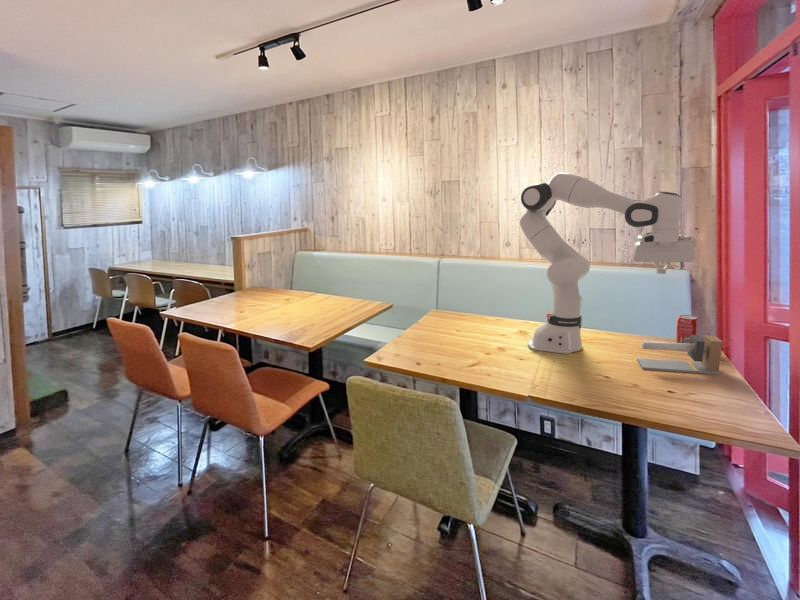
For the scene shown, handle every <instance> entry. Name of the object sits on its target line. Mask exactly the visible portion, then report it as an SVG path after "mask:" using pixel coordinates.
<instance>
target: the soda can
mask: <svg viewBox="0 0 800 600" xmlns="http://www.w3.org/2000/svg"><path fill="white" fill-rule="evenodd" d="M698 325H699V321H698V317H697V316H695V315H691V314H690V315H689V314H681V315H678V318H677V322H676V332H675V342H674V343H689V339H690V335H698V334H697V333H698V332H697V331H698Z"/></svg>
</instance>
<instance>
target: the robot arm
mask: <svg viewBox="0 0 800 600" xmlns="http://www.w3.org/2000/svg"><path fill="white" fill-rule="evenodd" d="M520 201H521V204H522V206H523V207H524V208H525V209H526V210H527V211H526V213H523V215H522V216H521V218H520V220H519V225H520V227H521V231H522V232H523V234H524V236H525V237H526V239H527V240H528V241H529V243H530V244H531V246H532V247H533V248H534V249H535V251H536V252H537V254H539V255H540V257H542V258H543V259H545V260H546V261H548V262H549V263H551V264H550V265H549V267H548V268H547V272H546V276H547V279H548V281H549V283H550V285H551V290H552V297H553V300H552V301H553V304H552V305H553V307H552V313H551V312H547V313H546V318H547V322H545V323H544V324H543V325H541V326H539V327H538V328H536V329H535V331H534V334H533V337H531V338H529V340H528V342H527V346H528V348H530V350H534V351H540V352H547V353H548V352H550V353H556V354H557V353H558V354H566V355H568V354H571V353H573V352H574V353H575V352H579V351H581V350H583V347H584V346H583V343H582V335H581V329H582V324H583V317H582V315H581V314H582V313H581V312H582V296H581V294H580V291H579V281H581V280H582V279H584V278H585V277H586V276H587V275H588V273H589V272H590V268H591V265H590V262H589V259H587V258H586V257H585V256H583V255H581V254H580V253H579V252H577V251H576V250H575V249H574V248H573V247H572V246H571V245H569V244H568V243H567V242H566V241H565V240H564V239H563V238H562V236H561V235H560V234H559V233H558V232H557V230H556V229H555V227H553V225H552V224H551V223H550V222H549V220H548V218H547V217H548V215H549V214H550V212H551V211H552V210H553V209H554V208H555V206H556V203H557V201H561V202H564V203H567V204H570V205H573V206H575V207H579V208H585V209H590V208H591V209H592V208H601V209H602V208H603V209H608V210H611V211H613V212H616V213H620V214H622V215H624V220H625V222H626V224H628V225H629V226H631V227H633V228H644V227H648V226H651V231H648V232H646V233H641V234H639V235H638V236H637V242H635V244H634V247H633V250H632V256H631V257H632V258H631V259H632V260H633V262H635V263H638V262H639V263H644V262H645V263H649V262H650V263H651V262H653V265H654V267H655V268H656V271H655V272H656V274H659V275H661V274H664V275H665V274H667V270H668V269H669V268H670V266H671V263H692V262H693V261H695V257H696V256H695V255H696V252H695V251H696V250H695V248H696V247H697V239H696V238H695V237H693V236H680V228H681V227H680V220H681V217H682V211H683V210H682V209H683V206H682V201H683V200H682V196H681V195H679V193H675V192H669V191H658V192H657V193H655V194H653V195H652V196H650V197H648V198H645V199H641V200H640V199H639V200H638V199H637V200H636V199H632V198H629V197H626V196H623V195H620V194H617V193H614V192H611V191H609V190H607V188H604V187H602V186H601V185H599V184H597V183H595V182H594V181H591V180H589V179H587V178H585V177H582V176H579V175H576V174H572V173H567V172H558V173H555V174H554V175H553V176H552V177H551V178H550V180H549V182H548V183H547V182H541V183H536V184H535V183H534V184H531V185H529V186H527V187H526V188H524V189H523V190H522V193H521V195H520ZM660 263H664V266H663V268H662V267H661V268H660V267H659V265H660Z"/></svg>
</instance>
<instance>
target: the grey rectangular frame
mask: <svg viewBox="0 0 800 600" xmlns="http://www.w3.org/2000/svg"><path fill="white" fill-rule="evenodd" d="M693 343H694V344H695V346H694V352H687V355H688V356H689V357H690V358H691V360H693V362H700V363H701V362H702V361H703V353H704V346H705V341H704V338H701V336H699V335H698V334H696V335H690V339H689V344H693Z"/></svg>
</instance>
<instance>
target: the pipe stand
mask: <svg viewBox="0 0 800 600" xmlns="http://www.w3.org/2000/svg"><path fill="white" fill-rule="evenodd" d="M703 340H704V341H705V346H704V353H703V361H702V362H699V361H689V360H688V361H685V360H684V361H681V360H667V359H665V360H664V359H649V358H637V359H636V361H637V363H638V364H639V366H640V368H641V369H642V370H646V371H647V370H648V371H649V370H651V371H662V372H677V373H691V374H693V373H694V374H704V375H705V374H706V375H719V376H720V375H721V371H720V364H721V356H722V349H723V343H724V341H723V340H721V339H720V338H719V337H717V336H716V335H712V334H711V335H710V334H709V335H708V334H707V335H706V334H704V335H703ZM694 346H695V344H694V343H693V344H689V343H675V342H667V341H652V340H651V341H649V340H643V341H642V343H641V347H642V349H643V350H655V351H671V352H687V353H688V352H694Z"/></svg>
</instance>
